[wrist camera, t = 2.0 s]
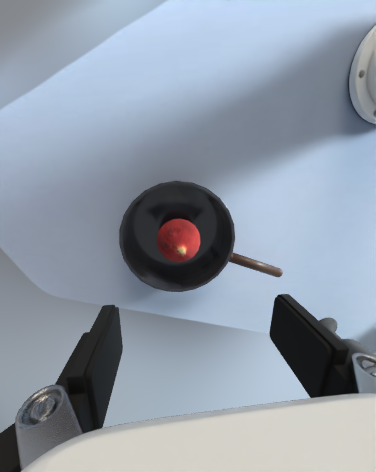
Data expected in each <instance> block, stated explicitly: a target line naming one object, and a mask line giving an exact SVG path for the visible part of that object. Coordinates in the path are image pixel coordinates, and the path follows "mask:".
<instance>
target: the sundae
mask: <svg viewBox="0 0 376 472" xmlns="http://www.w3.org/2000/svg"><path fill="white" fill-rule="evenodd" d="M319 322H320V323H321V324H323V325H324V326H325V327H326V328H327V329H328V330H329V331H330V332H331V333H333V334H334V335H335V336H336V337H337V338H338V339H339V340H340V341H342V342H343V343H344V344H345V345H346V346H347V347H348V348H349V353H350V354H351V355H353V354H354V353H364V354H368V355H371V356H373V357H375V358H376V354H374V353H373V352H371V351H370V350H369V349H367V348H366V347H364V346H363V345H361V344H360V343H358V342H356V341H355V340H352V339H341V338H340V337H339V336H338V335H337V334H336V333H335V331H336V329H337V322H336V321H335V320H334V319H332V318H325V319H322V320H321V321H319Z"/></svg>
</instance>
